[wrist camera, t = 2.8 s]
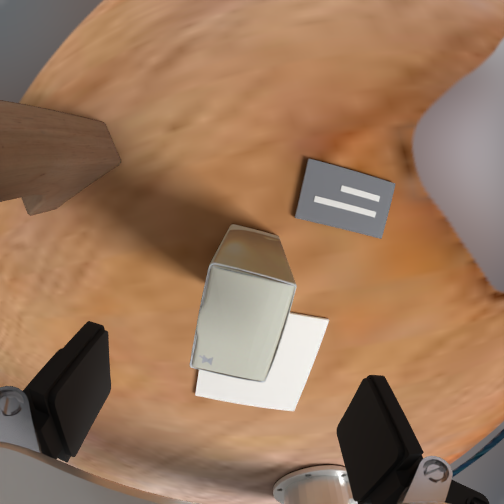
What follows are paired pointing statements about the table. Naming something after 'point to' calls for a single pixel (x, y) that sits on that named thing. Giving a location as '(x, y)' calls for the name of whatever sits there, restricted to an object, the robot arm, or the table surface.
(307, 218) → the slate card
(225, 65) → the table surface
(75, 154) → the wooden block
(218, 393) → the note sheet
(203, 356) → the skincare box
